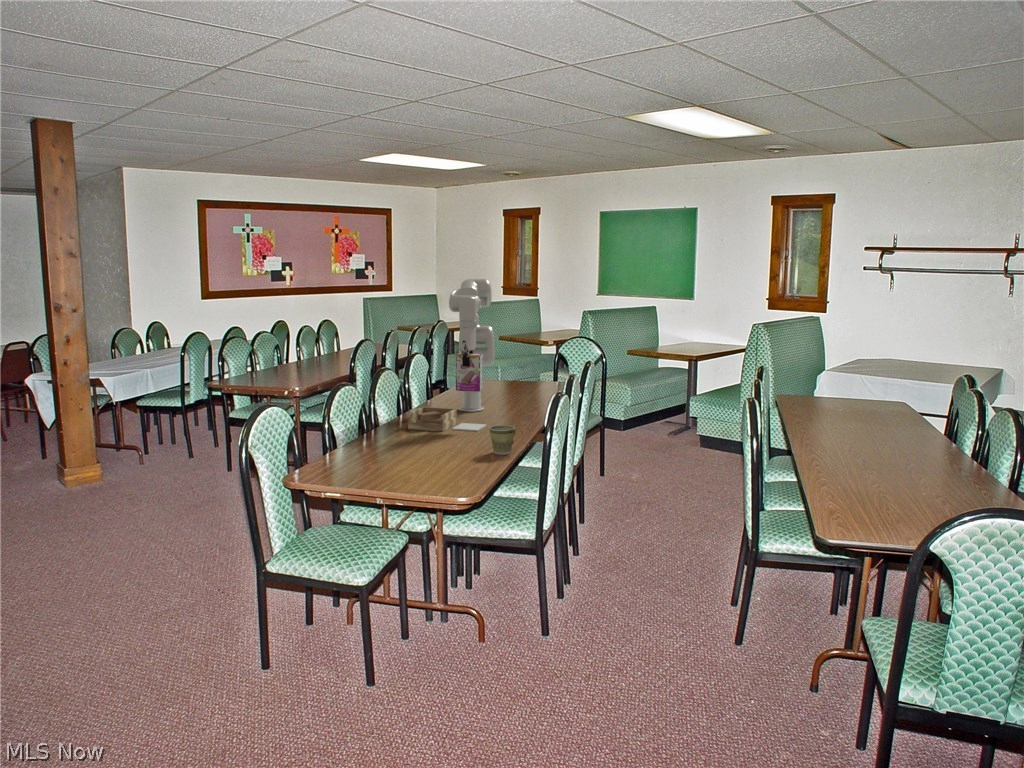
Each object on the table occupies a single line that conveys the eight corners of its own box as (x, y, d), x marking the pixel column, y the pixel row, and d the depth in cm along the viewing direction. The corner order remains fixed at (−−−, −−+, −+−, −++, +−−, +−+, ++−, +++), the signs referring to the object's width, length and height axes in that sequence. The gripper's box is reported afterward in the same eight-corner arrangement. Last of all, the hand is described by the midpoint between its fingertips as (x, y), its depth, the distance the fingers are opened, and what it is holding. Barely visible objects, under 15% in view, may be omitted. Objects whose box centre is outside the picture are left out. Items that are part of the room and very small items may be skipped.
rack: (423, 421, 352) (423, 407, 351) (457, 423, 347) (456, 408, 346) (408, 429, 336) (407, 413, 335) (442, 431, 331) (442, 415, 330)
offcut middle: (418, 422, 341) (418, 417, 341) (442, 423, 340) (442, 417, 339) (416, 425, 336) (415, 419, 335) (440, 425, 334) (440, 420, 334)
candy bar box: (455, 391, 334) (455, 354, 332) (458, 389, 339) (457, 353, 337) (480, 391, 332) (480, 354, 330) (482, 390, 337) (482, 353, 335)
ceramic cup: (487, 455, 289) (487, 430, 287) (491, 449, 299) (491, 424, 297) (521, 456, 287) (521, 431, 285) (524, 450, 297) (524, 425, 295)
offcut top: (417, 419, 337) (417, 413, 336) (435, 416, 342) (435, 411, 341) (422, 420, 333) (422, 415, 332) (440, 418, 338) (440, 413, 337)
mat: (461, 424, 346) (461, 422, 346) (486, 425, 342) (486, 424, 342) (452, 429, 335) (452, 428, 334) (477, 431, 331) (477, 430, 331)
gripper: (466, 323, 340) (467, 362, 343) (452, 326, 324) (453, 367, 327) (482, 323, 338) (483, 363, 341) (469, 326, 322) (469, 368, 325)
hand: (468, 365), depth 334 cm, fingers closed on candy bar box, 5 cm apart
